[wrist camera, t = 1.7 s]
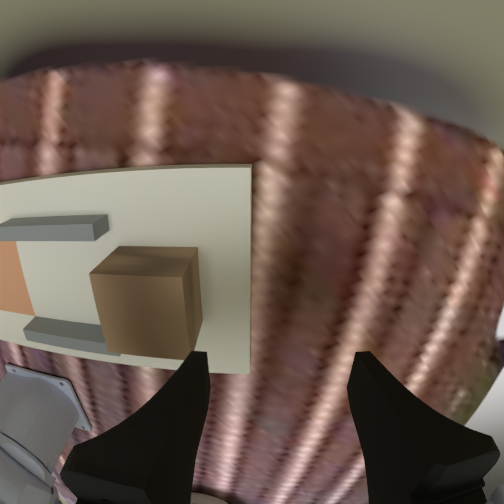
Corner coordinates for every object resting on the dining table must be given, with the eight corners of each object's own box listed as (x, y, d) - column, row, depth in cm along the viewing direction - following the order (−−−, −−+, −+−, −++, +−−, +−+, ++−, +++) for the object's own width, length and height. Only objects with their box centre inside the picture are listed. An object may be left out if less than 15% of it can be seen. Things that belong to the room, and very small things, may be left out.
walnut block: (130, 316, 20) (108, 352, 17) (118, 245, 19) (88, 273, 15) (202, 320, 20) (191, 360, 17) (197, 246, 18) (182, 277, 15)
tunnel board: (-39, 316, 25) (-59, 334, 21) (-70, 196, 19) (-96, 207, 16) (250, 356, 24) (248, 393, 20) (251, 163, 19) (249, 172, 15)
